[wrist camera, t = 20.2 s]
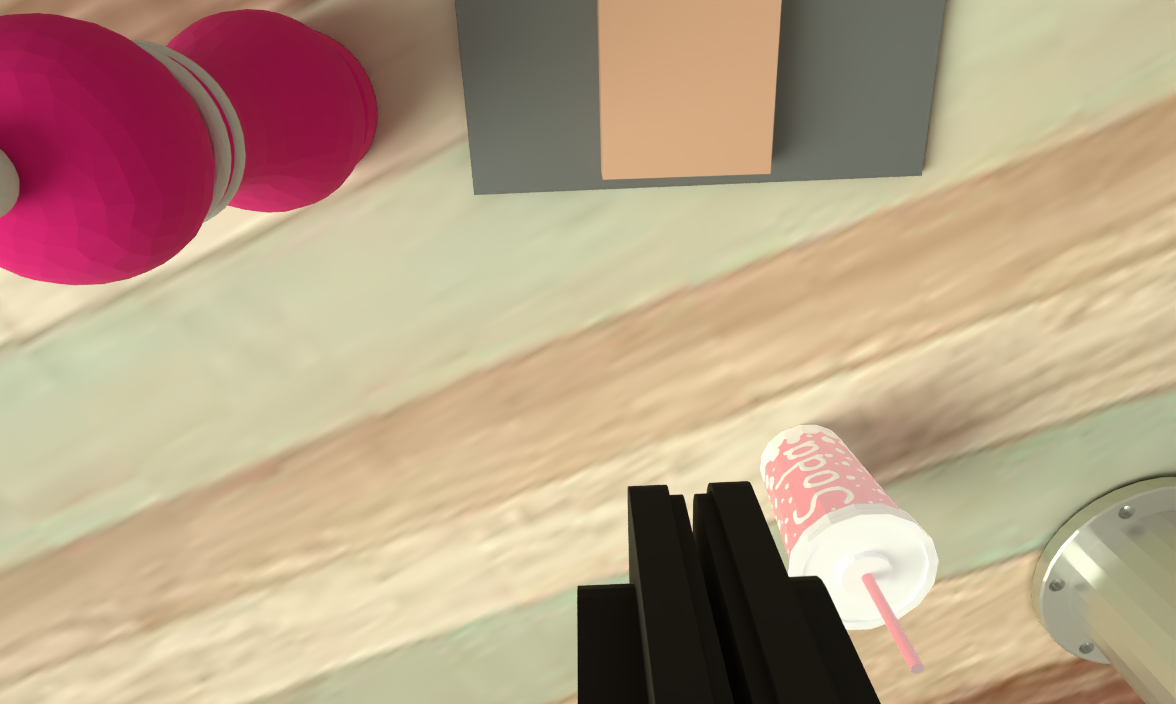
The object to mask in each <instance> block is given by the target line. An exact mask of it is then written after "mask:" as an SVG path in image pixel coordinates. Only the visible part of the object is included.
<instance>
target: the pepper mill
mask: <svg viewBox="0 0 1176 704" xmlns="http://www.w3.org/2000/svg"><path fill="white" fill-rule="evenodd" d="M376 124H377V106H376V99H375V95H374V91H373V88H372V85H371V83H370V80H369V78H368V76H367V74H366V73H365V71H364V69H363V67H362V66H361V65H360V63H359V62H358V61H357V59H356V58H355V57H354V56H353V55H352V54H351V53H350V52H349V51H348V50H347V49H346V48H345V47H344V46H342V45H341V44H340V43H338V42H337V41H335V40H334V39H332V38H330V37H329V36H327V35H325V34H322V33H320V32H317V31H314V30H312V29H311V28H309V27H307V26H305V25H304V24H302V23H300V22H299V21H297V20H295V19H292V18H290V17H287V16H284V15H282V14H279V13H275V12H270V11H265V10H252V9H245V10H236V11H228V12H221V13H218V14H214V15H211V16H207V17H204V18H203V19H201V20H199V21H197V22H195V23H193V24H191V25H190V26H189V27H187V28H186V29H185V30H183V31H182V32H181V33H180V34H178V35H177V36H176V37H174V38H173V39H172V40H171V41H170V42H169V43H168V45H167V46H166V47H165V46H162V45H159V44H156V43H152V42H147V41H139V40H129V39H127V38H126V37H124V36H122V35H120V34H118V33H116V32H113V31H111V30H109V29H107V28H104V27H102V26H100V25H97V24H95V23H91V22H87V21H82V20H78V19H73V18H69V17H64V16H60V15H53V14H41V13H32V14H12V15H4V16H0V267H1V268H3V269H6V270H8V271H10V272H13V273H15V274H17V275H19V276H22V277H26V278H29V279H33V280H38V281H44V282H51V283H58V284H67V285H92V284H105V283H110V282H115V281H120V280H125V279H129V278H132V277H135V276H137V275H140V274H142V273H145V272H148V271H150V270H152V269H154V268H156V267H158V266H160V265H162V264H164V263H165V262H167V261H168V260H169V259H171V258H172V257H173V256H175V255H176V254H178V253H179V252H180V251H181V250H182V249H183V248H184V247H185V246H186V245H187V244H188V243H189V242H190V241H191V240H192V239H193V238H194V237H195V236H196V235H197V233H198V231H199V229H200V227H201V225H202V223H203V222H206V221H208V220H209V219H211V218H212V217H214V216H215V215H217V214H218V213H219V212H221V211H222V210H223V209H224V208H225V207H226V206H227V205H228V206H232V207H236V208H240V209H245V210H251V211H260V212H285V211H290V210H294V209H297V208H301V207H304V206H308V205H311V204H314V203H316V202H318V201H320V200H322V199H324V198H326V197H328V196H329V195H330V194H331V193H333V192H334V191H335V190H337V189H338V188H339V187H340V186H341V185H342V184H343V183H344V181H345V180H346V179H347V178H348V176H349V175H350V174H351V172H352V171H353V169H354V167H355V165H356V164H357V163H358V162H359V161H360V160H361V159H362V158H363V157H364V155H365V154H366V152H367V151H368V149H369V147H370V145H371V143H372V140H373V138H374V134H375V130H376Z"/></svg>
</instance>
